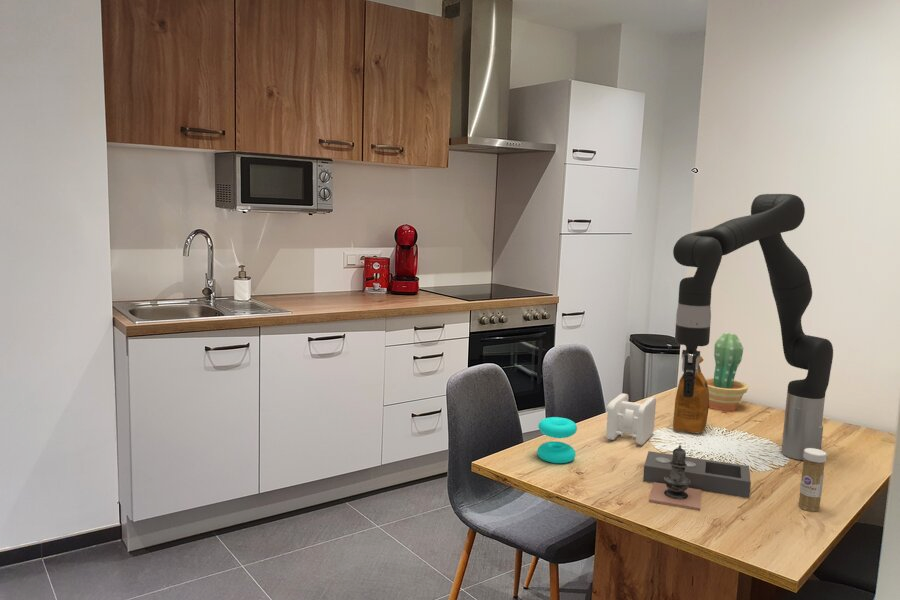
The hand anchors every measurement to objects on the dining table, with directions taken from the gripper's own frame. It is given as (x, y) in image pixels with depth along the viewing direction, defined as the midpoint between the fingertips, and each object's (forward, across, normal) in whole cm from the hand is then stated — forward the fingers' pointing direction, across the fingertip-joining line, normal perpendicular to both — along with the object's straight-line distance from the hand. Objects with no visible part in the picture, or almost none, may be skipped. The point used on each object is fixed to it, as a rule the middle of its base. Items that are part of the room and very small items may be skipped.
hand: (688, 391), depth 166 cm
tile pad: (+24, -5, +1) cm, 25 cm away
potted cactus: (+26, +80, -10) cm, 84 cm away
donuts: (+24, +8, +32) cm, 41 cm away
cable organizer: (+25, +33, +16) cm, 44 cm away
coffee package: (+25, +50, 0) cm, 56 cm away
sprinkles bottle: (+25, +1, -27) cm, 37 cm away
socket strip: (+24, +7, -3) cm, 25 cm away
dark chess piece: (+24, -5, +1) cm, 24 cm away
